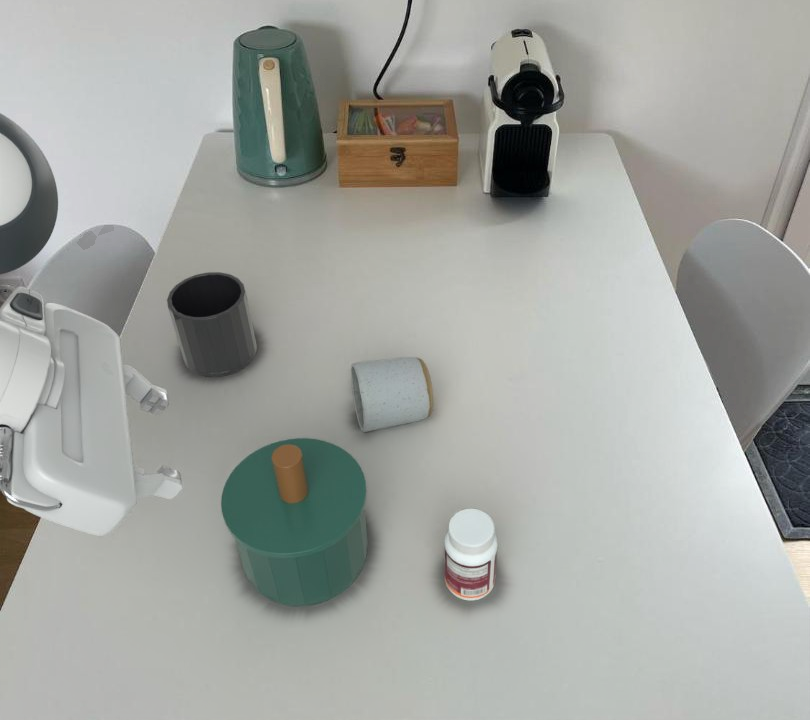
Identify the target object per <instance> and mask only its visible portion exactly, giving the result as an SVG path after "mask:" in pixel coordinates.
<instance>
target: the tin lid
mask: <svg viewBox="0 0 810 720" xmlns="http://www.w3.org/2000/svg"><path fill="white" fill-rule="evenodd" d="M367 491H368V490H367V481H366V477H365V474H364V472H363V469H362V467H361V465H360V464H359V462H358V461H357V460H356V459H355V458H354V457H353V456H352V454H350V452H348V451H346V449H343V448H342V447H340V446H339V445H337V444H335V443H332V442H329V441H326V440H321V439H317V438H310V437H309V438H308V437H295V438H289V439H287V438H286V439H282V440H278V441H275V442H272V443H269V444H267V445H264V446H263V447H262V446H261V447H260V448H258V449H257V450H255V451H253V452H252V453H250V454H248V456H246V457H245V458H244V459H242V460H241V461H240V462H239V463H238V464H237V465H236V466H235V467H234V469H233V470H232V471H231V473H230V474H229V476H228V478H227V479H226V481H225V483H224V486H223V489H222V494H221V497H220V498H221V500H220V507H221V514H222V518H223V521H224V524H225V526H226V528H227V530H228V532H229V533H230V535H231V536H232V537H233V538H234V540H235V539H236V540H237V541H238V542H239V543H240V544H242V545H243V546H244V547H246V548H248V549H249V550H251V551H253V552H256V553H258V554H261V555H265V556H269V557H275V558H297V557H303V556H308V555H311V554H314V553H317V552H320V551H322V550H325V549H327V548H329V547H331V546H332V545H334V544H335V543H337V542H338V541H340V540H341V539H342V538H344V537H345V536H346V535H347V534H348V533H349V532H350V531H351V530H352V529H353V527H354V526H355V525H356V524H357V522H358V520H359V519H360V517H361V515H362V512H363V510H365V508H366V503H367V496H368V495H367V494H368V492H367Z"/></svg>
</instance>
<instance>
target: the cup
mask: <svg viewBox="0 0 810 720" xmlns="http://www.w3.org/2000/svg"><path fill="white" fill-rule="evenodd" d="M166 303H167V308H168V309H167V310H168V311H169V316H170V319H171V322H172V326H173V328H174V332H175V335H176V339H177V342H178V346H179V349H180V352H181V353H180V354H181V356H182V359H183V361H184V364H185V366H186V367H187V368H188V369H189V371H190V372H192V373H194V374H196V375H199V376H202V377H206V378H209V377H210V378H217V377H219V378H220V377H225V376H229V375H233V374H234V373H238V372H239V371H241V370H243V369H245V368H246V367H247V366H248V365H249V364H250V363H251V362H252V361H253V360H254V358H255V357H256V354H257V350H258V346H257V339H256V334H255V330H254V325H253V322H252V315H251V310H250V306H249V300H248V297H247V291H246V287H245V283H243V282H242V281H241V280H240V278H239V277H237V276H234V275H232V274H231V273H226V272H219V271H212V272H211V271H209V272H202V273H197V274H195V275H192V276H189V277H187V278H184V279H183V280H181V281H180V282H178V283H177V284H176V285H175V286H174V287H173V288H172V289H171V290H170V291H169V294H168V295H167V299H166Z"/></svg>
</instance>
